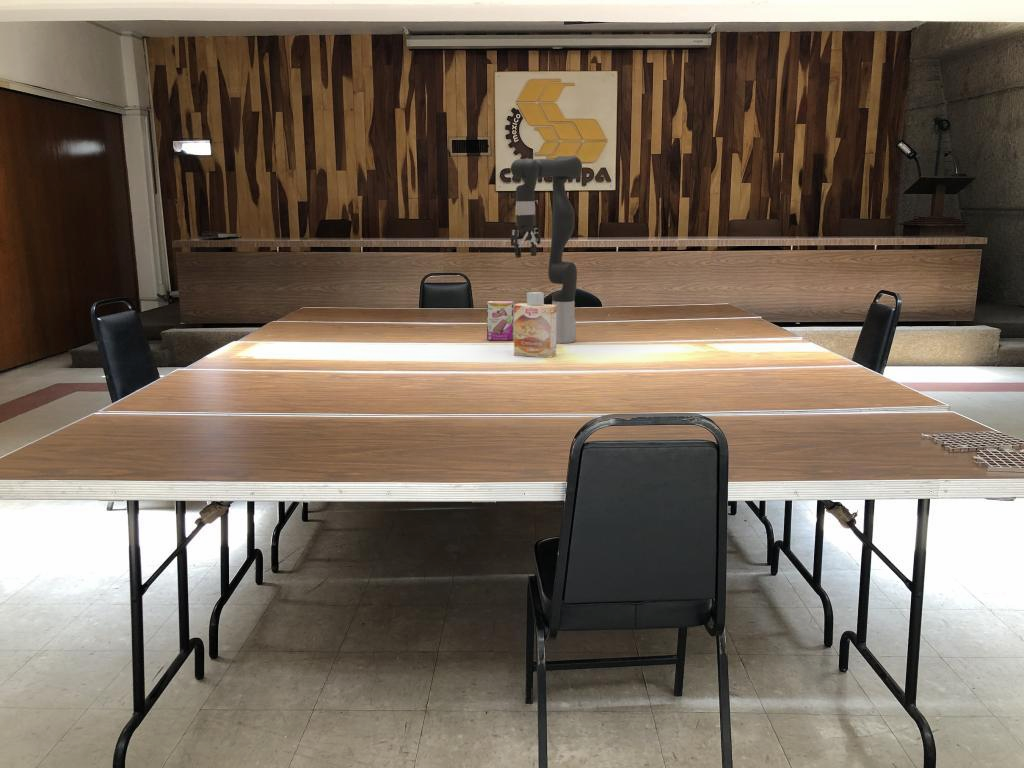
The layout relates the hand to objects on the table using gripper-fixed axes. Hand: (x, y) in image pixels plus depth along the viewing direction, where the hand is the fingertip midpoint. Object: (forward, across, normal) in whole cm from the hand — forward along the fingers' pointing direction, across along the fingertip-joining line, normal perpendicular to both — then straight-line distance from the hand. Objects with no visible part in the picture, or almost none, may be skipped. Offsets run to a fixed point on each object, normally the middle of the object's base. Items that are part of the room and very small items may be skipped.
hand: (526, 256), depth 325 cm
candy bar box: (+38, -13, -27) cm, 48 cm away
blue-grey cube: (+18, +2, +7) cm, 19 cm away
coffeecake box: (+37, +3, +7) cm, 38 cm away
